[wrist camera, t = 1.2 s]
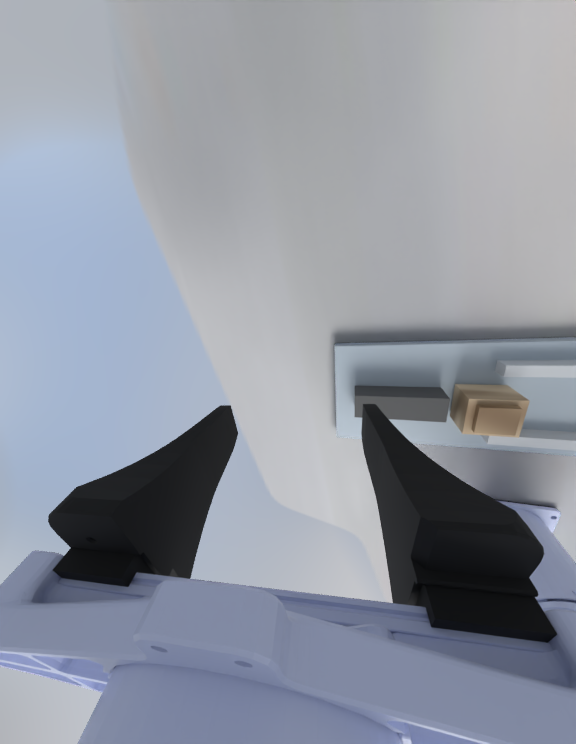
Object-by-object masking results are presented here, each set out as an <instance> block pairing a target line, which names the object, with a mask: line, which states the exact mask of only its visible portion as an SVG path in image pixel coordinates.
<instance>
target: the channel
mask: <svg viewBox="0 0 576 744" xmlns="http://www.w3.org/2000/svg"><path fill="white" fill-rule="evenodd" d="M455 384H480V385H508V386H509V387H511V388H512V389H514V390H515V391H517V392H518V393H519V394H521V395H522V396H524V397H525V398H527V399H528V400H529V401H530V402H529V406H528V409H527V412H526V416H525V419H524V422H523V426H522V429H521V432H520V436H519V438H516V437H501V436H486V435H471V434H462V433H461V431H460V430H459V428H458V427H457V426H456V424H455V423H454V421H453V420H452V418H451V417H450V411H451V405H452V399H453V393H454V387H455ZM355 386H401V387H441V388H442V389H443V390H444V392H445V393H446V394H447V395H448V397H449V398H450V403H449V409H448V415H447V421H446V422H429V421H411V420H394V419H389V420H390V422H391V423H392V424H393V425H394V426H395V427H396V428H397V429H398V430H399V431H400V432H401V433H402V434H403V435H404V436H405V437H406V438H407V439H408V440H409V441H410V442H411V443H416V444H429V445H441V446H454V447H466V448H478V449H491V450H503V451H516V452H528V453H541V454H553V455H565V456H576V337H563V338H525V339H487V340H449V341H411V342H372V343H335V387H336V429H337V437H342V438H354V439H362V435H361V431H362V418H359V417H355Z"/></svg>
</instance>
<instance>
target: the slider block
mask: <svg viewBox="0 0 576 744" xmlns="http://www.w3.org/2000/svg"><path fill="white" fill-rule="evenodd" d="M529 402H530V401H529V400H528V399H527V398H525V397H524V396H522V395H521V394H519V393H518V392H517V391H515V390H514V389H512V388H511V387H509V386H508V385H480V384H455V387H454V393H453V399H452V405H451V411H450V417H451V418H452V420H453V421H454V423H455V424H456V426H457V427H458V428H459V430H460V431H461V433H462V434H471V435H486V436H501V437H516V438H519V436H520V432H521V429H522V426H523V422H524V419H525V416H526V412H527V409H528V406H529Z"/></svg>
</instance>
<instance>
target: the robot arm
mask: <svg viewBox="0 0 576 744" xmlns="http://www.w3.org/2000/svg"><path fill="white" fill-rule="evenodd" d="M237 435H238V431H237V428H236V424H235V420H234V416H233V413H232V409H231V406H219V407H218V408H216V409H215V410H214V411H212V412H211V413H210V414H209V415H207V416H206V417H205V418H204V419H202V420H201V421H200V422H198V423H197V424H196V425H195V426H193V427H192V428H190V429H189V430H188V431H186V432H185V433H184V434H182V435H181V436H179V437H178V438H177V439H175V440H174V441H172V442H170V443H169V444H167V445H166V446H164V447H162V448H161V449H159V450H158V451H156V452H154V453H152V454H150V455H149V456H147V457H145V458H143V459H141V460H139V461H137V462H136V463H133V464H132V465H129V466H127V467H125V468H123V469H121V470H118V471H116V472H114V473H112V474H109V475H107V476H105V477H102V478H99V479H97V480H94V481H92V482H89V483H86V484H84V485H81V486H78V487H76V489H74V490H73V491H72V492H71V493H70V494H69V495H68V496H67V497H66V498H65V499H64V500H63V501H62V502H61V503H60V504H59V505H58V506H57V507H56V508H55V509H54V510H53V511H52V512H51V513H50V514H49V519H48V522H49V524H50V526H51V527H52V529H53V530H54V531H55V532H56V533H57V534H58V535H59V536H60V537H61V538H62V539H63V540H64V541H65V542H66V543H67V544H68V545H69V546H70V547H71V549H70V550H69V551H68V552H67V554H66V555H65V556H63V555H61V554H59V553H54V552H45V551H32V552H31V553H30V555H28V557H26V559H25V560H24V561H23V562H22V563H21V564H20V565H19V566H18V567H17V568H16V569H15V570H14V571H13V572H12V573H11V574H10V575H9V576H8V578H7V579H6V580H5V581H4V582H3V583H2V584H1V585H0V666H1V667H5V668H10V669H14V670H18V671H22V672H26V673H31V674H34V675H39V676H43V677H47V678H50V679H54V680H58V681H62V682H66V683H69V684H73V685H76V686H80V687H84V688H87V689H91V690H95V691H98V692H102V695H101V697H100V699H99V701H98V703H97V705H96V707H95V709H94V711H93V713H92V715H91V717H90V719H89V721H88V723H87V725H86V728H85V729H84V731H83V734H82V736H81V738H80V740H79V742H78V744H576V563H575V562H574V560H573V559H572V558H571V556H570V555H569V554H568V553H567V551H566V550H565V549H564V547H563V546H562V545H561V543H560V542H559V541H558V540H557V538H556V537H555V536H554V534H553V532H554V529H555V527H556V525H557V522H558V520H559V518H560V515H561V513H560V511H559V510H558V509H556V508H550V507H542V506H535V505H527V504H519V503H511V502H504V501H496V500H494V499H493V498H491V497H489V496H487V495H485V494H483V493H482V492H480V491H478V490H476V489H475V488H473V487H471V486H470V485H468V484H466V483H465V482H463V481H462V480H460V479H459V478H457V477H455V476H454V475H452V474H451V473H449V472H448V471H447V470H445V469H444V468H442V467H441V466H439V465H438V464H437V463H435V462H434V461H433V460H431V459H430V458H429V457H427V456H426V455H425V454H424V453H423V452H421V451H420V450H419V449H418V448H417V447H415V446H414V445H413V444H412V443H411V442H410V441H409V440H408V439H407V438H406V437H405V436H404V435H403V434H402V433H401V432H400V431H399V430H398V429H397V428H396V427H395V426H394V425H393V424H392V423H391V422H390V420H389V419H388V418H387V417H386V416H385V415H384V413H383V412H382V411H381V410H380V409H379V407H378V406H377V405H376V404H363V411H362V431H361V435H362V442H363V449H364V454H365V458H366V462H367V465H368V469H369V473H370V476H371V480H372V484H373V487H374V491H375V495H376V499H377V504H378V509H379V515H380V521H381V527H382V533H383V539H384V545H385V551H386V558H387V565H388V571H389V578H390V585H391V592H392V599H393V603H387V602H378V601H370V600H362V599H354V598H345V597H337V596H329V595H320V594H311V593H304V592H295V591H287V590H279V589H270V588H262V587H254V586H246V585H237V584H229V583H221V582H212V581H204V580H196V579H190V577H191V573H192V569H193V564H194V561H195V557H196V553H197V549H198V545H199V542H200V538H201V534H202V531H203V527H204V524H205V521H206V518H207V514H208V511H209V508H210V505H211V502H212V499H213V496H214V493H215V491H216V488H217V486H218V483H219V481H220V479H221V477H222V474H223V472H224V470H225V468H226V465H227V463H228V461H229V458H230V456H231V454H232V452H233V449H234V446H235V442H236V439H237Z"/></svg>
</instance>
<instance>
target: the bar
mask: <svg viewBox="0 0 576 744" xmlns="http://www.w3.org/2000/svg"><path fill="white" fill-rule="evenodd" d="M449 403H450V398H449V397H448V395H447V394H446V393H445V392H444V390H443V389H442V388H441V387H401V386H355V417H359V418H362V411H363V404H376V405H377V406H378V407H379V409H380V410H381V411H382V412H383V413H384V415H385V416H386V417H387V418H388V419H394V420H411V421H429V422H446V421H447V415H448V409H449Z"/></svg>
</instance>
